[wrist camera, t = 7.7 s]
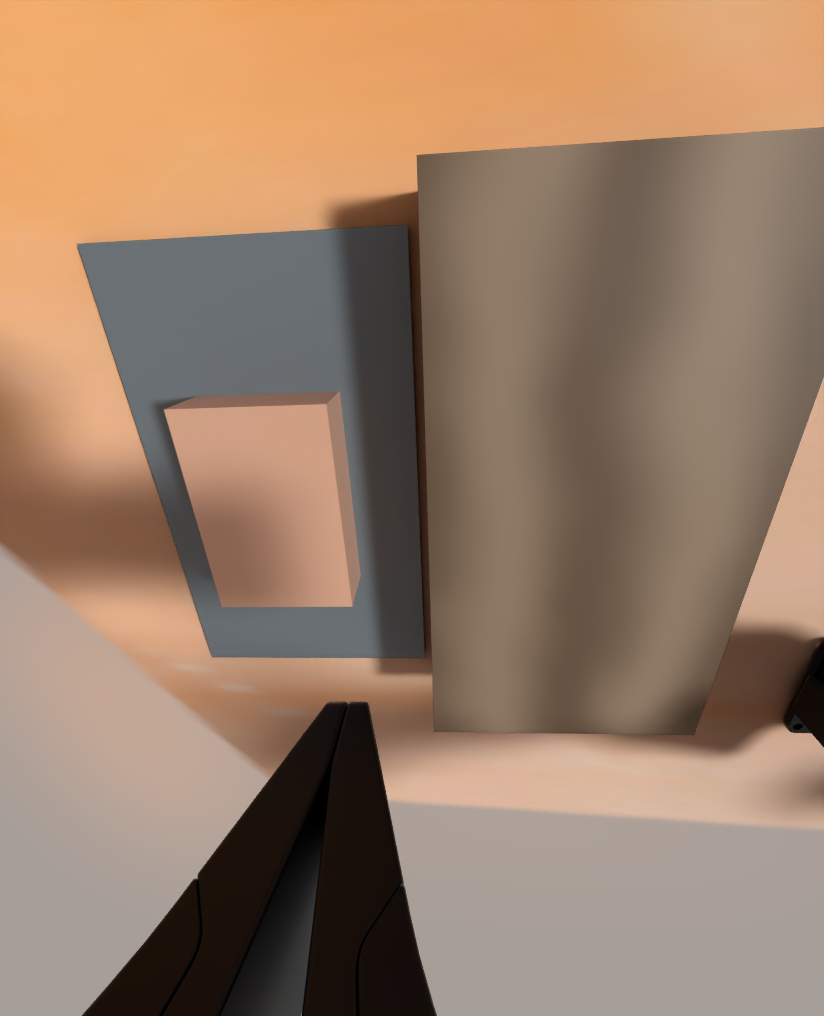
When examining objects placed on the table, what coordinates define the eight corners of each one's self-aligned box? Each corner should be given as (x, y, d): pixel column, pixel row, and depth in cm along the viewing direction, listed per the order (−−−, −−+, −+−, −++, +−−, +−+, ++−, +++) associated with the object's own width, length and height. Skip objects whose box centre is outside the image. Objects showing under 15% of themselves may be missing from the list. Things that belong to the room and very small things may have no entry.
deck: (791, 167, 14) (916, 121, 10) (654, 668, 23) (693, 735, 20) (421, 190, 15) (417, 155, 11) (434, 667, 24) (434, 731, 21)
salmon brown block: (163, 409, 16) (196, 396, 18) (221, 607, 20) (243, 576, 22) (326, 404, 15) (339, 391, 17) (352, 606, 19) (360, 575, 21)
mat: (408, 225, 15) (407, 224, 15) (424, 653, 24) (424, 658, 24) (82, 244, 16) (76, 243, 16) (214, 653, 25) (212, 657, 24)
